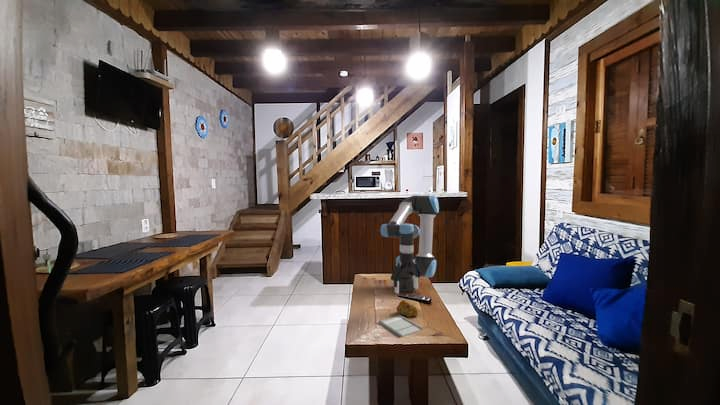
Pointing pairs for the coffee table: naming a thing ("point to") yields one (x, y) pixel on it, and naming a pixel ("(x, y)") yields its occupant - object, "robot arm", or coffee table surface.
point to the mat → (400, 326)
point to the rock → (407, 309)
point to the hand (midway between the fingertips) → (406, 290)
